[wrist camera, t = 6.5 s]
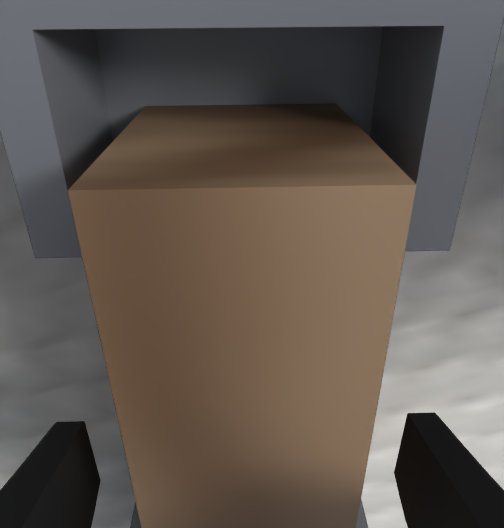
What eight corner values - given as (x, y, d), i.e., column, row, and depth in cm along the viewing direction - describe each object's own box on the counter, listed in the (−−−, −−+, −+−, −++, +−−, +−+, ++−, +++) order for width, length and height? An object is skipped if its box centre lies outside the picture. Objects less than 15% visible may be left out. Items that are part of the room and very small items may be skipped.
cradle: (433, -40, 9) (538, -64, 6) (343, 528, 18) (365, 636, 15) (40, -38, 9) (-69, -61, 6) (153, 533, 18) (135, 644, 15)
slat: (336, 102, 10) (416, 185, 5) (304, 506, 17) (327, 686, 12) (145, 105, 10) (67, 190, 5) (193, 509, 16) (177, 691, 12)
